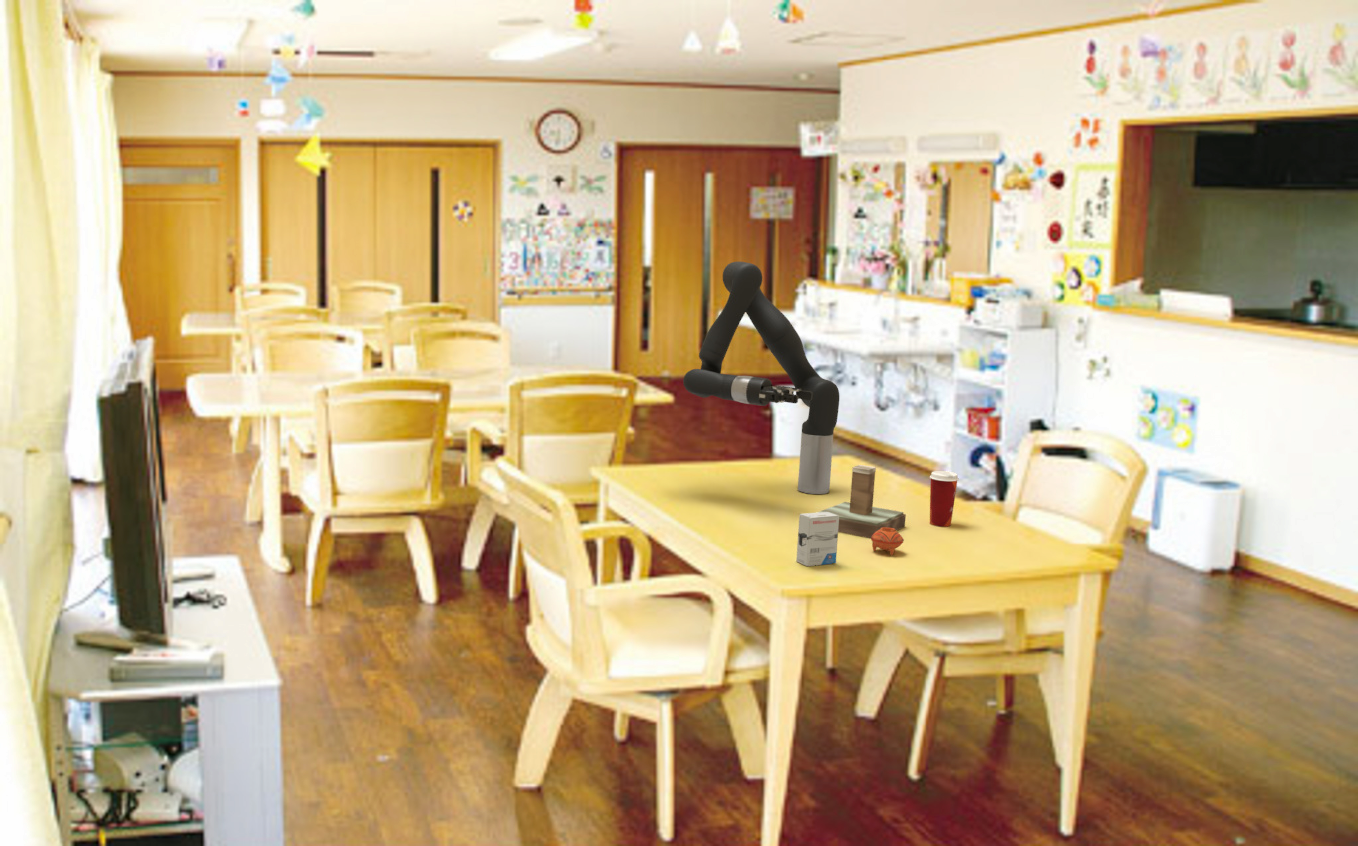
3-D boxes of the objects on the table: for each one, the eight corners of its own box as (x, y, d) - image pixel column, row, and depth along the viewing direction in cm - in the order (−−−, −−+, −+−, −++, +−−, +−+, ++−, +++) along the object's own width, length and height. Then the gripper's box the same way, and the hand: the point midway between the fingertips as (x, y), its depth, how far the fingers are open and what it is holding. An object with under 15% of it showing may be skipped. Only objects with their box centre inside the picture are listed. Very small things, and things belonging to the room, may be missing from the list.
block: (856, 509, 369) (859, 464, 367) (872, 512, 367) (875, 467, 365) (849, 512, 365) (852, 467, 363) (865, 515, 363) (868, 469, 361)
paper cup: (960, 527, 373) (964, 475, 370) (935, 528, 370) (939, 476, 367) (944, 520, 380) (948, 469, 377) (920, 521, 377) (924, 470, 375)
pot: (870, 554, 338) (871, 526, 339) (870, 553, 346) (871, 526, 346) (903, 556, 337) (904, 528, 338) (902, 555, 345) (903, 528, 345)
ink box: (825, 558, 333) (828, 510, 331) (836, 563, 329) (840, 515, 327) (795, 561, 329) (798, 512, 327) (806, 566, 325) (809, 517, 323)
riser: (843, 515, 379) (844, 501, 378) (904, 526, 369) (905, 512, 369) (813, 527, 364) (814, 512, 363) (877, 539, 354) (878, 524, 354)
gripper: (739, 379, 373) (793, 386, 365) (765, 374, 385) (817, 381, 377) (738, 406, 375) (791, 414, 366) (763, 401, 387) (815, 408, 378)
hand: (804, 397), depth 372 cm, fingers open, 8 cm apart
